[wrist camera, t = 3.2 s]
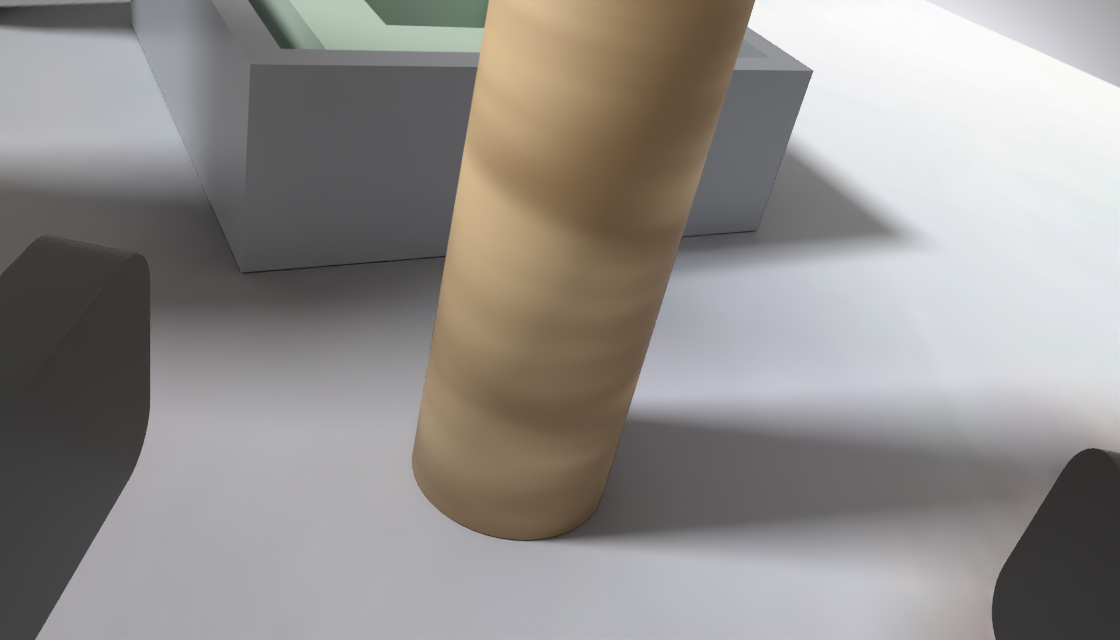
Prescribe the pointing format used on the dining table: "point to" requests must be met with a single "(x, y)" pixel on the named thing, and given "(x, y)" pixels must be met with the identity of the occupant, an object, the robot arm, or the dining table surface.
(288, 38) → the plate
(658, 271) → the peg
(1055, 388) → the dining table surface
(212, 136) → the box
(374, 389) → the dining table surface
